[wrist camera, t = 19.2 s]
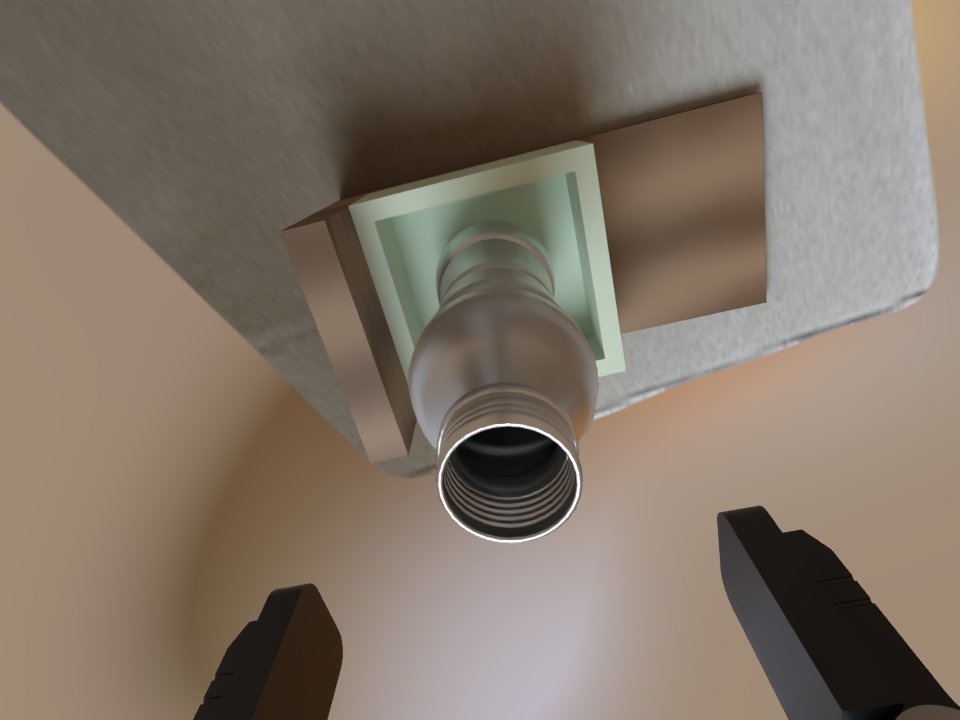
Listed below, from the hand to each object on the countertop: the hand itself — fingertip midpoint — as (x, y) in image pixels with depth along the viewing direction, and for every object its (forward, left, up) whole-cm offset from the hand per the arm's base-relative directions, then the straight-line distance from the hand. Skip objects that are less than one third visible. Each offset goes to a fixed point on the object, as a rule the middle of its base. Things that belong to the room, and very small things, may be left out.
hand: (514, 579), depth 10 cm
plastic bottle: (0, 0, -23) cm, 23 cm away
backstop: (0, +4, -25) cm, 25 cm away
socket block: (0, 0, -24) cm, 24 cm away
